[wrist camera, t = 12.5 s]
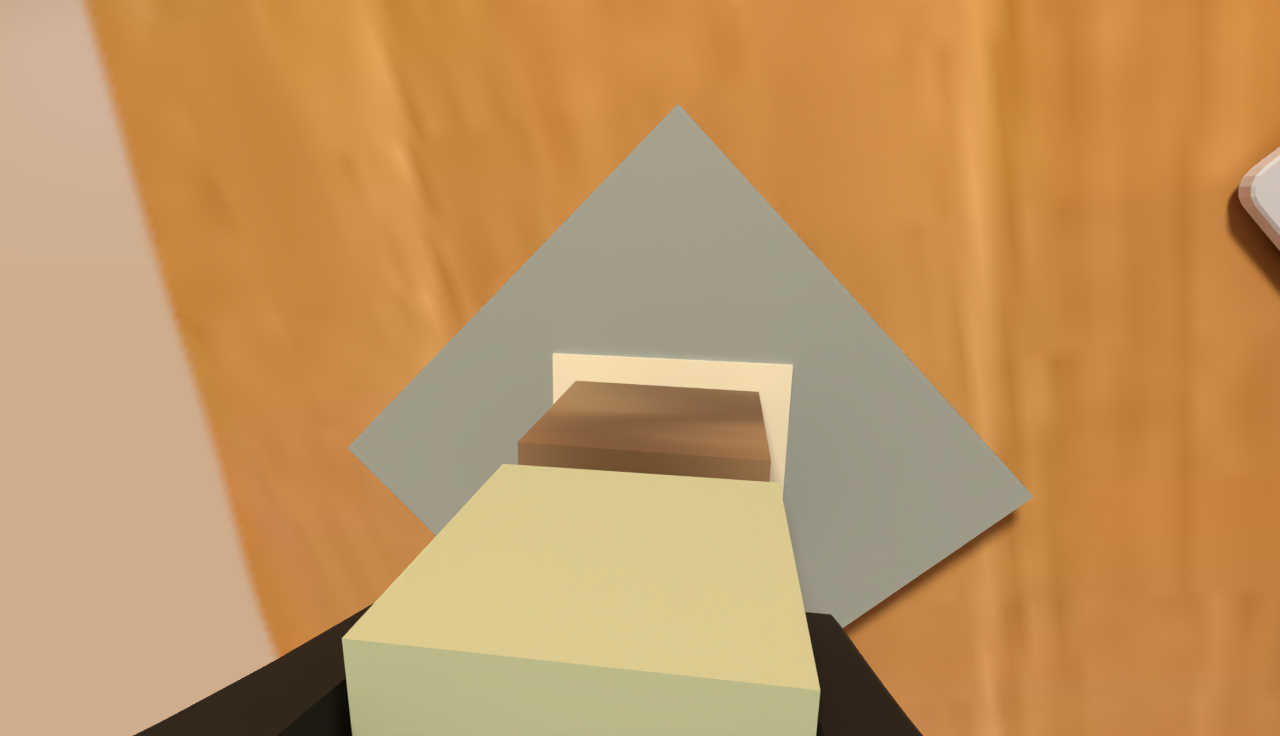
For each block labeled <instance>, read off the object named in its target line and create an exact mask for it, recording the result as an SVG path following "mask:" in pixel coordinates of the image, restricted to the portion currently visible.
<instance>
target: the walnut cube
mask: <svg viewBox="0 0 1280 736" xmlns="http://www.w3.org/2000/svg"><path fill="white" fill-rule="evenodd" d="M518 465H528V466H543V467H557V468H572V469H587V470H601V471H616V472H631V473H645V474H660V475H675V476H689V477H704V478H719V479H733V480H748V481H763V482H769V481H770V468H771V458H770V452H769V446H768V441H767V435H766V430H765V424H764V418H763V413H762V407H761V402H760V396H759V392H754V391H738V390H721V389H705V388H689V387H672V386H656V385H639V384H623V383H606V382H590V381H575V382H574V383H573V384H572V385H571V386H570V387H569V389H568V390H567V391H566V392H565V393H564V394H563V395H562V396H561V397H560V398H559V399H558V400H557V401H556V402H555V403H554V404H553V405H552V406H551V408H550V409H549V410H548V411H547V412H546V413H545V414H544V415H543V416H542V417H541V418H540V419H539V420H538V421H537V422H536V423H535V424H534V425H533V427H532V428H531V429H530V430H529V431H528V432H527V433H526V434H525V435H524V436H523V437H522V438H521V439H520V440H519V441H518Z"/></svg>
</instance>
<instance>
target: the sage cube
mask: <svg viewBox="0 0 1280 736" xmlns="http://www.w3.org/2000/svg"><path fill="white" fill-rule="evenodd" d="M342 645H343V654H344V663H345V672H346V682H347V691H348V700H349V709H350V719H351V728H352V736H816V731H817V720H818V710H819V700H820V686H819V681H818V676H817V671H816V666H815V660H814V655H813V650H812V645H811V640H810V635H809V630H808V625H807V620H806V615H805V610H804V605H803V600H802V594H801V589H800V584H799V579H798V574H797V569H796V564H795V559H794V554H793V549H792V544H791V539H790V534H789V528H788V523H787V518H786V513H785V508H784V503H783V498H782V493H781V488H780V483H777V482H763V481H748V480H733V479H719V478H704V477H689V476H675V475H660V474H645V473H631V472H616V471H601V470H587V469H572V468H557V467H543V466H528V465H513V464H502V465H501V466H500V467H499V468H498V470H497V471H496V472H495V473H494V474H493V475H492V476H491V477H490V478H489V479H488V480H487V481H486V483H485V484H484V485H483V486H482V487H481V488H480V489H479V490H478V491H477V492H476V493H475V494H474V496H473V497H472V498H471V499H470V500H469V501H468V502H467V503H466V504H465V505H464V506H463V507H462V509H461V510H460V511H459V512H458V513H457V514H456V515H455V516H454V517H453V518H452V519H451V520H450V522H449V523H448V524H447V525H446V526H445V527H444V528H443V529H442V530H441V531H440V532H439V534H438V535H437V536H436V537H435V538H434V539H433V540H432V541H431V542H430V543H429V544H428V545H427V547H426V548H425V549H424V550H423V551H422V552H421V553H420V554H419V555H418V556H417V557H416V558H415V560H414V561H413V562H412V563H411V564H410V565H409V566H408V567H407V568H406V569H405V570H404V571H403V573H402V574H401V575H400V576H399V577H398V578H397V579H396V580H395V581H394V582H393V583H392V584H391V586H390V587H389V588H388V589H387V590H386V591H385V592H384V593H383V594H382V595H381V596H380V597H379V599H378V600H377V601H376V602H375V603H374V604H373V605H372V606H371V607H370V608H369V609H368V610H367V612H366V613H365V614H364V615H363V616H362V617H361V618H360V619H359V620H358V621H357V622H356V623H355V625H354V626H353V627H352V628H351V629H350V630H349V631H348V632H347V633H346V634H345V635H344V636H343V638H342Z"/></svg>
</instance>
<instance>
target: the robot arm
mask: <svg viewBox="0 0 1280 736" xmlns="http://www.w3.org/2000/svg"><path fill="white" fill-rule="evenodd" d="M1238 198H1239V200H1240V202H1241V204H1242V206H1243V207H1244V209H1245V210H1246V211H1247V212H1248V213H1249V215H1250V216H1251V217H1252V218H1253V219H1254V221H1255V222H1256V223H1257V224H1258V225H1259V227H1260V228H1261V229H1262V230H1263V231H1264V233H1265V234H1266V235H1267V236H1268V237H1269V239H1270V240H1271V241H1272V242H1273V244H1274V245H1275V246H1276V247H1277V248H1278V250H1279V251H1280V147H1278V148H1277V149H1276V150H1275V151H1273V152H1272V153H1271V154H1269V155H1268V156H1267V157H1265V158H1264V159H1263V160H1261V161H1260V162H1259V163H1257V164H1256V165H1255V166H1254V167H1252V168H1251V169H1250V170H1249V171H1248V172H1247V173H1246V174H1245V175H1244V176H1243V178H1242V181H1241V183H1240V185H1239V189H1238ZM373 604H374V603H373ZM373 604H372V605H373ZM372 605H370V606H368V607H366V608H365V609H363V610H361V611H360V612H358V613H356V614H354V615H353V616H351V617H349V618H348V619H346V620H344V621H342V622H341V623H339V624H337V625H336V626H334V627H332V628H330V629H329V630H327V631H325V632H323V633H322V634H320V635H318V636H317V637H315V638H313V639H311V640H310V641H308V642H306V643H304V644H303V645H301V646H299V647H298V648H296V649H294V650H292V651H291V652H289V653H287V654H285V655H284V656H282V657H280V658H279V659H277V660H275V661H273V662H271V663H270V664H268V665H266V666H264V667H262V668H261V669H259V670H257V671H255V672H253V673H251V674H249V675H247V676H246V677H244V678H242V679H240V680H238V681H236V682H234V683H233V684H231V685H229V686H227V687H225V688H223V689H221V690H220V691H218V692H216V693H214V694H212V695H210V696H208V697H207V698H205V699H203V700H201V701H199V702H197V703H195V704H193V705H192V706H190V707H188V708H186V709H184V710H182V711H180V712H179V713H177V714H175V715H173V716H171V717H169V718H167V719H166V720H164V721H162V722H160V723H158V724H156V725H154V726H152V727H150V728H148V729H146V730H144V731H142V732H140V733H138V734H136V735H134V736H352V728H351V719H350V709H349V700H348V691H347V682H346V672H345V663H344V654H343V645H342V638H343V636H344V635H345V634H346V633H347V632H348V631H349V630H350V629H351V628H352V627H353V626H354V625H355V623H356V622H357V621H358V620H359V619H360V618H361V617H362V616H363V615H364V614H365V613H366V612H367V610H368V609H369V608H370V607H371V606H372ZM805 615H806V620H807V625H808V630H809V635H810V640H811V645H812V650H813V655H814V660H815V666H816V671H817V676H818V681H819V686H820V700H819V710H818V720H817V731H816V736H923V735H922V734H921V733H920V731H919V730H918V729H917V728H916V726H915V725H914V724H913V723H912V722H911V720H910V719H909V718H908V717H907V715H906V714H905V713H904V711H903V710H902V709H901V707H900V706H899V705H898V704H897V702H896V701H895V700H894V698H893V697H892V696H891V694H890V693H889V692H888V690H887V689H886V688H885V686H884V685H883V684H882V682H881V681H880V680H879V678H878V677H877V676H876V674H875V673H874V672H873V670H872V669H871V667H870V666H869V665H868V663H867V662H866V661H865V659H864V658H863V656H862V655H861V654H860V652H859V651H858V649H857V648H856V647H855V645H854V644H853V642H852V641H851V640H850V638H849V637H848V635H847V634H846V632H845V631H844V630H843V628H842V627H841V625H840V624H839V623H838V622H837V621H836V619H835V618H834V617H833V616H832V615H831V614H821V613H811V612H805Z"/></svg>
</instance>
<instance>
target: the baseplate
mask: <svg viewBox="0 0 1280 736" xmlns="http://www.w3.org/2000/svg"><path fill="white" fill-rule="evenodd" d="M575 381H590V382H606V383H623V384H639V385H656V386H672V387H689V388H705V389H721V390H738V391H754V392H759V396H760V402H761V407H762V413H763V418H764V424H765V430H766V435H767V441H768V446H769V452H770V458H771V468H770V481H769V482H777V483H780V488H781V493H782V498H783V503H784V508H785V513H786V518H787V523H788V528H789V534H790V539H791V544H792V549H793V554H794V559H795V564H796V569H797V574H798V579H799V584H800V589H801V594H802V600H803V605H804V610H805V612H811V613H821V614H831V615H832V616H833V617H834V618H835V619H836V621H837V622H838V623H839V624H840V625H841V627H842V628H844V627H845V626H847V625H848V624H850V623H851V622H852V621H854V620H855V619H857V618H858V617H860V616H861V615H863V614H864V613H866V612H867V611H868V610H870V609H871V608H873V607H874V606H876V605H877V604H879V603H880V602H882V601H883V600H884V599H886V598H887V597H889V596H890V595H892V594H893V593H895V592H896V591H898V590H899V589H901V588H902V587H903V586H905V585H906V584H908V583H909V582H911V581H912V580H914V579H915V578H917V577H918V576H919V575H921V574H922V573H924V572H925V571H927V570H928V569H930V568H931V567H933V566H934V565H935V564H937V563H938V562H940V561H941V560H943V559H944V558H946V557H947V556H949V555H950V554H951V553H953V552H954V551H956V550H957V549H959V548H960V547H962V546H963V545H965V544H966V543H967V542H969V541H970V540H972V539H973V538H975V537H976V536H978V535H979V534H981V533H982V532H983V531H985V530H986V529H988V528H989V527H991V526H992V525H994V524H995V523H997V522H998V521H1000V520H1001V519H1002V518H1004V517H1005V516H1007V515H1008V514H1010V513H1011V512H1013V511H1014V510H1016V509H1017V508H1018V507H1020V506H1021V505H1023V504H1024V503H1026V502H1027V501H1029V500H1030V499H1032V498H1033V497H1034V496H1033V495H1032V494H1031V493H1030V492H1029V491H1028V490H1027V489H1026V488H1025V486H1024V485H1023V484H1022V483H1021V482H1020V481H1019V480H1018V479H1017V478H1016V477H1015V475H1014V474H1013V473H1012V472H1011V471H1010V470H1009V469H1008V468H1007V467H1006V465H1005V464H1004V463H1003V462H1002V461H1001V460H1000V459H999V458H998V457H997V455H996V454H995V453H994V452H993V451H992V450H991V449H990V448H989V447H988V446H987V444H986V443H985V442H984V441H983V440H982V439H981V438H980V437H979V436H978V434H977V433H976V432H975V431H974V430H973V429H972V428H971V427H970V426H969V425H968V423H967V422H966V421H965V420H964V419H963V418H962V417H961V416H960V415H959V413H958V412H957V411H956V410H955V409H954V408H953V407H952V406H951V405H950V404H949V402H948V401H947V400H946V399H945V398H944V397H943V396H942V395H941V394H940V392H939V391H938V390H937V389H936V388H935V387H934V386H933V385H932V384H931V383H930V381H929V380H928V379H927V378H926V377H925V376H924V375H923V374H922V373H921V371H920V370H919V369H918V368H917V367H916V366H915V365H914V364H913V363H912V361H911V360H910V359H909V358H908V357H907V356H906V355H905V354H904V353H903V352H902V350H901V349H900V348H899V347H898V346H897V345H896V344H895V343H894V342H893V340H892V339H891V338H890V337H889V336H888V335H887V334H886V333H885V332H884V331H883V329H882V328H881V327H880V326H879V325H878V324H877V323H876V322H875V321H874V319H873V318H872V317H871V316H870V315H869V314H868V313H867V312H866V311H865V310H864V308H863V307H862V306H861V305H860V304H859V303H858V302H857V301H856V300H855V298H854V297H853V296H852V295H851V294H850V293H849V292H848V291H847V290H846V289H845V287H844V286H843V285H842V284H841V283H840V282H839V281H838V280H837V279H836V277H835V276H834V275H833V274H832V273H831V272H830V271H829V270H828V269H827V267H826V266H825V265H824V264H823V263H822V262H821V261H820V260H819V259H818V258H817V256H816V255H815V254H814V253H813V252H812V251H811V250H810V249H809V248H808V246H807V245H806V244H805V243H804V242H803V241H802V240H801V239H800V238H799V237H798V235H797V234H796V233H795V232H794V231H793V230H792V229H791V228H790V227H789V225H788V224H787V223H786V222H785V221H784V220H783V219H782V218H781V217H780V216H779V214H778V213H777V212H776V211H775V210H774V209H773V208H772V207H771V206H770V204H769V203H768V202H767V201H766V200H765V199H764V198H763V197H762V196H761V195H760V193H759V192H758V191H757V190H756V189H755V188H754V187H753V186H752V185H751V183H750V182H749V181H748V180H747V179H746V178H745V177H744V176H743V175H742V173H741V172H740V171H739V170H738V169H737V168H736V167H735V166H734V165H733V164H732V162H731V161H730V160H729V159H728V158H727V157H726V156H725V155H724V154H723V152H722V151H721V150H720V149H719V148H718V147H717V146H716V145H715V144H714V143H713V141H712V140H711V139H710V138H709V137H708V136H707V135H706V134H705V133H704V131H703V130H702V129H701V128H700V127H699V126H698V125H697V124H696V123H695V122H694V120H693V119H692V118H691V117H690V116H689V115H688V114H687V113H686V112H685V110H684V109H683V108H682V107H681V106H680V105H679V104H677V106H676V107H675V108H674V109H673V110H672V111H671V112H670V113H669V114H668V115H667V116H666V117H665V118H664V119H663V120H662V121H661V122H660V123H659V124H658V125H657V126H656V127H655V128H654V129H653V130H652V132H651V133H650V134H649V135H648V136H647V137H646V138H645V139H644V140H643V141H642V142H641V143H640V144H639V145H638V146H637V147H636V148H635V149H634V150H633V151H632V152H631V153H630V154H629V155H628V156H627V158H626V159H625V160H624V161H623V162H622V163H621V164H620V165H619V166H618V167H617V168H616V169H615V170H614V171H613V172H612V173H611V174H610V175H609V176H608V177H607V178H606V179H605V180H604V181H603V183H602V184H601V185H600V186H599V187H598V188H597V189H596V190H595V191H594V192H593V193H592V194H591V195H590V196H589V197H588V198H587V199H586V200H585V201H584V202H583V203H582V204H581V205H580V206H579V207H578V209H577V210H576V211H575V212H574V213H573V214H572V215H571V216H570V217H569V218H568V219H567V220H566V221H565V222H564V223H563V224H562V225H561V226H560V227H559V228H558V229H557V230H556V231H555V232H554V233H553V235H552V236H551V237H550V238H549V239H548V240H547V241H546V242H545V243H544V244H543V245H542V246H541V247H540V248H539V249H538V250H537V251H536V252H535V253H534V254H533V255H532V256H531V257H530V258H529V259H528V261H527V262H526V263H525V264H524V265H523V266H522V267H521V268H520V269H519V270H518V271H517V272H516V273H515V274H514V275H513V276H512V277H511V278H510V279H509V280H508V281H507V282H506V283H505V284H504V285H503V287H502V288H501V289H500V290H499V291H498V292H497V293H496V294H495V295H494V296H493V297H492V298H491V299H490V300H489V301H488V302H487V303H486V304H485V305H484V306H483V307H482V308H481V309H480V310H479V311H478V313H477V314H476V315H475V316H474V317H473V318H472V319H471V320H470V321H469V322H468V323H467V324H466V325H465V326H464V327H463V328H462V329H461V330H460V331H459V332H458V333H457V334H456V335H455V336H454V338H453V339H452V340H451V341H450V342H449V343H448V344H447V345H446V346H445V347H444V348H443V349H442V350H441V351H440V352H439V353H438V354H437V355H436V356H435V357H434V358H433V359H432V360H431V361H430V362H429V364H428V365H427V366H426V367H425V368H424V369H423V370H422V371H421V372H420V373H419V374H418V375H417V376H416V377H415V378H414V379H413V380H412V381H411V382H410V383H409V384H408V385H407V386H406V387H405V388H404V390H403V391H402V392H401V393H400V394H399V395H398V396H397V397H396V398H395V399H394V400H393V401H392V402H391V403H390V404H389V405H388V406H387V407H386V408H385V409H384V410H383V411H382V412H381V413H380V414H379V416H378V417H377V418H376V419H375V420H374V421H373V422H372V423H371V424H370V425H369V426H368V427H367V428H366V429H365V430H364V431H363V432H362V433H361V434H360V435H359V436H358V437H357V438H356V439H355V440H354V442H353V443H352V444H351V445H350V446H349V447H348V449H349V450H350V451H351V452H352V453H353V454H354V455H355V456H356V457H357V458H358V459H359V460H360V461H361V462H362V463H363V464H364V465H365V466H366V467H367V468H368V469H369V470H370V471H371V472H372V473H373V474H374V475H375V476H376V477H377V478H378V479H379V480H380V481H381V482H382V483H383V484H384V485H385V486H386V487H387V488H388V489H389V490H390V491H391V492H392V493H393V494H394V495H395V496H396V497H397V498H398V499H399V500H401V501H402V502H403V503H404V504H405V505H406V506H407V507H408V508H409V509H410V510H411V511H412V512H413V513H414V514H415V515H416V516H417V517H418V518H419V519H420V520H421V521H422V522H423V523H424V524H425V525H426V526H427V527H428V528H429V529H430V530H431V531H432V532H433V533H434V534H435V535H436V536H437V535H438V534H439V532H440V531H441V530H442V529H443V528H444V527H445V526H446V525H447V524H448V523H449V522H450V520H451V519H452V518H453V517H454V516H455V515H456V514H457V513H458V512H459V511H460V510H461V509H462V507H463V506H464V505H465V504H466V503H467V502H468V501H469V500H470V499H471V498H472V497H473V496H474V494H475V493H476V492H477V491H478V490H479V489H480V488H481V487H482V486H483V485H484V484H485V483H486V481H487V480H488V479H489V478H490V477H491V476H492V475H493V474H494V473H495V472H496V471H497V470H498V468H499V467H500V466H501V465H502V464H513V465H518V441H519V440H520V439H521V438H522V437H523V436H524V435H525V434H526V433H527V432H528V431H529V430H530V429H531V428H532V427H533V425H534V424H535V423H536V422H537V421H538V420H539V419H540V418H541V417H542V416H543V415H544V414H545V413H546V412H547V411H548V410H549V409H550V408H551V406H552V405H553V404H554V403H555V402H556V401H557V400H558V399H559V398H560V397H561V396H562V395H563V394H564V393H565V392H566V391H567V390H568V389H569V387H570V386H571V385H572V384H573V383H574V382H575Z"/></svg>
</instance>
